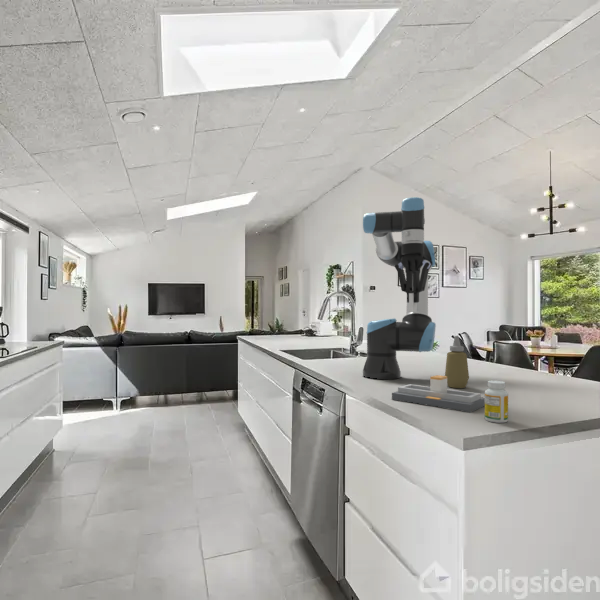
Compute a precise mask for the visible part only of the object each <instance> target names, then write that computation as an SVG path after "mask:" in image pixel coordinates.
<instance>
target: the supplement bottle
mask: <svg viewBox="0 0 600 600" xmlns="http://www.w3.org/2000/svg"><path fill="white" fill-rule="evenodd" d="M487 387H488V388H487V389H485V391H484V398H485V406H484V420H485V421H487V422H491V423H497V424H502V423H506V422H508V420H509V392H508V391H507V390H505V388H506V382H505V381H502V380H501V381H500V380H488V381H487Z"/></svg>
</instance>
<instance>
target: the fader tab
mask: <svg viewBox="0 0 600 600" xmlns="http://www.w3.org/2000/svg"><path fill="white" fill-rule="evenodd" d="M429 387H430V391H434V392H441V393H447V389H448V384H447V376H445V375H440V374H439V375H432V376H430V385H429Z"/></svg>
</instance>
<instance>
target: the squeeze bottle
mask: <svg viewBox="0 0 600 600" xmlns="http://www.w3.org/2000/svg"><path fill="white" fill-rule="evenodd" d="M464 348H465V347H464V346H463V345H461V341H460V337H459V335H455V336H454V338H453V343H452V345H450V346H449V352H446V361H445V362H446V363H445V373H444V376H447V387H448V388H452V389H463V388H466V387H467V385H468V382H469V380H470V374H469V373H470V372H469V365H468V364H469V363H468V355H467V353H466V352H464V351H465V349H464Z"/></svg>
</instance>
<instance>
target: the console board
mask: <svg viewBox="0 0 600 600" xmlns="http://www.w3.org/2000/svg"><path fill="white" fill-rule="evenodd" d="M481 394H482V393H479V392H472V391H463V390H456V389H450V388H449V389H448V388H447V393H441V392H434V391H430V386H426V385H425V386H424V385H419V384H411V383H409V384H406V385H401V386H398V387H397V391H393V392H391V400H392V399H394V400H393V401H398V400H401V401H400V402H404V401H407V403H411V402H413V403H412V404H417V403H420V404H419V405H423V404H427V405H426V406H429V405H432V406H431V407H435V406H438V407H437V408H441V407H443V409H447V408H449V409H448V410H454V409H456V410H455V411H460V410H462V411H461V412H466V411H467V413H472V412H474V411H477V410H479V409H481V408H483V407H485V397H484V396H483V397H482V395H481ZM476 409H477V410H476Z"/></svg>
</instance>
